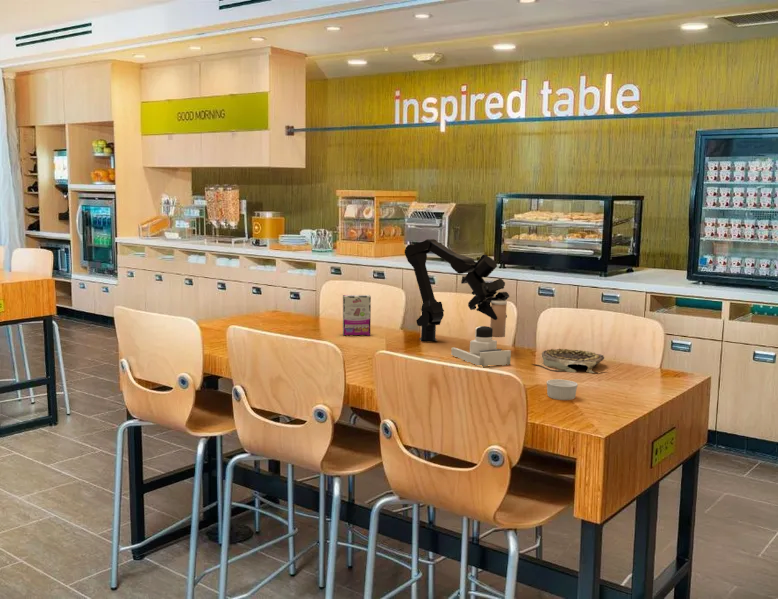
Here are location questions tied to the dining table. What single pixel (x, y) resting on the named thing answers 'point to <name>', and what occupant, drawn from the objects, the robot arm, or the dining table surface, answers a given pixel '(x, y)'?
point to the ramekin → (561, 389)
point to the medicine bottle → (482, 340)
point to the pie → (570, 359)
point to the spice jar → (499, 318)
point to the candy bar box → (356, 314)
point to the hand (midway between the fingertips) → (501, 318)
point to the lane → (484, 356)
